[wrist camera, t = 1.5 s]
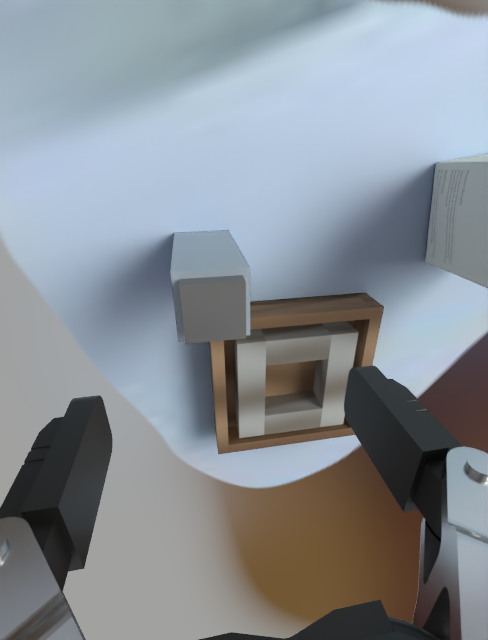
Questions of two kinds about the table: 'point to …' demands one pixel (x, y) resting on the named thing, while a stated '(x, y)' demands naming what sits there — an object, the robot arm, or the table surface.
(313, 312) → the walnut box
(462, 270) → the skincare box
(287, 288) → the table surface
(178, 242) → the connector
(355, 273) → the table surface
